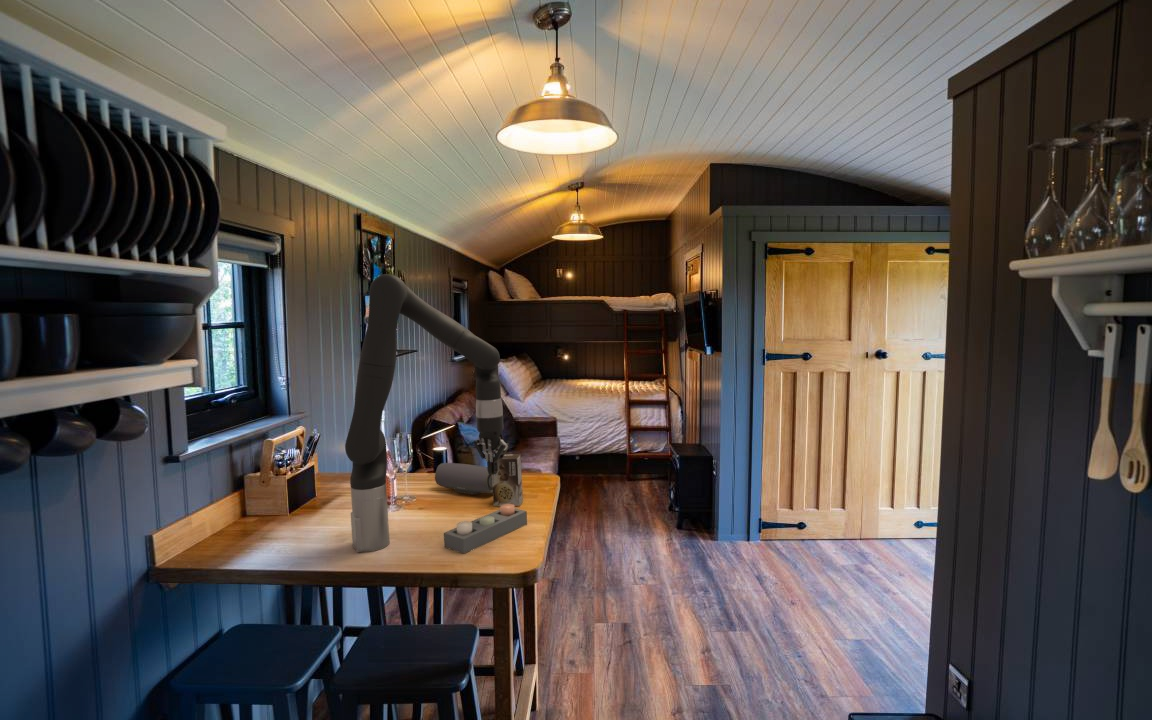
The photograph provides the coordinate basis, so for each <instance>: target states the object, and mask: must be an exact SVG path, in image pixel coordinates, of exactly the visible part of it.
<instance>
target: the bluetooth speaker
mask: <svg viewBox="0 0 1152 720" xmlns="http://www.w3.org/2000/svg"><path fill="white" fill-rule="evenodd" d="M434 481H435V483H436V485H437V486H441V487H444V488H448V489H451V490H452V489H453V490H454V492H456V493H459V492H460V494H466V495H467V494H468V495H475V494H478V495H481V494H483V493H484V494H485V493H486V494H493V486H492V475H491V474H488V470H487V466H482V465H474V464H468V463H467V464H466V463H456V462H441V463H440V464H438V465H437V467H436V471H435V473H434Z"/></svg>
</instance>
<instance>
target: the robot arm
mask: <svg viewBox="0 0 1152 720" xmlns="http://www.w3.org/2000/svg"><path fill="white" fill-rule="evenodd" d="M368 297H369V298H368V299H369V300H368V301H369V302H368V305H369V306H368V318H367V319H368V321H367V327H366V331H365V335H364V338H363V342H362V347H361V353H360V357H359V363H358V368H357V375H356V386H355V392H354V393H355V394H354V406H353V413H352V417H351V421H350V425H349V429H348V432H347V437H346V440H345V442H344V443H345V444H344V450H345V454H346V456H347V458H348V459H349V460H350V461H351V462H352V470H351V474H350V478H349V483H350V492H351V493H350V495H351V499H350V501H351V512H350V525H351V541H352V542H351V543H352V547H353V548H354V550H355V551H356V553H362V552H365V553H367V552H368V553H369V552H374V551H378V550H381V549H384V548H386V547H388V545H389V544H390V528H389V527H390V526H389V511H388V494H387V491H388V490H387V471H388V461H387V457H388V456H387V441H386V440H387V439H386V436H385V434H384V432H383V430H381V422H382V416H383V413H384V408H385V406H386V403H387V400H388V398H389V396H390V391H391V389H392V385H393V381H394V376H395V370H396V363H397V329H398V322H399V318H400V314H401V315H403V316H404V317H407V318H408V319H409V320H411V321H413V322H414V323H416V324H417V325H419V326H420V327H422V329H424V330H425V331H426V332H427V333H428V334H430V336H433V337H434V338H435V339H436V340H437V341H439V342H441V343H442V344H444V345H445V346H446V347H448V348H450V349H451V350H452V351H455V352H456V353H458V354H460V355H461V356H463V357H464V358H465V359H467V360H468V361H469V362H471V363H472V364H473V367H474V376H475V399H476V401H475V402H476V403H475V415H476V430H477V432H478V433H479V434H478V438H477V439H475V440H473V445H474V446H475V449H476V451H477V452H478V453H479V456H480V457H481V459H483V460H485V461H486V467H487V470H488V474H491V475H494V474H497V472H498V460H500V459H503V457H504V455H505V454H507V452H508V450H509V448H510V443H509V442H507V443H506V442H505V440H504V435H503V433H502V432H503V430H504V429H505V428H504V427H505V426H504V414H503V413H504V412H503V411H504V409H503V402H502V391H501V389H502V388H501V382H500V381H501V380H500V378H499V364H500V361H501V357H500V352H499V351H498V349H497V348H496V347H494V346H493V345H491V344H490V343H488V342H487V341H485V340H484V339H482V338H480V337H478V336H476V335H475V334H474V333H473V332H471V331H470V330H469V329H468V328H466V327H465V326H464V325H462V324H461V323H459V322H457V321H456V320H455V319H454V318H452V317H450V316H448V315H446V314H445V313H443V312H442V311H440V310H438V309H436V308H435V307H433V306H431V305H430V304H428V303H427V302H426V301H424V300H423V299H422V298H421V297H419V296H418V295H417V294H416V293H414V291H413V290H412V289H411V288H409V287H408V286H407V285H406V283H405V282H404V281H403V280H402V278H400V277H398V276H396V275H394V274H389V273H384V274H380V275H378V276H377V277H376V278H374V279H373V281H371V284H370V287H369V295H368ZM494 455H495V457H494Z"/></svg>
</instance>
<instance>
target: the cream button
mask: <svg viewBox="0 0 1152 720" xmlns="http://www.w3.org/2000/svg"><path fill="white" fill-rule="evenodd" d="M456 528H457V534H459V535H462V536H466V535H468V534H470V533H472V522H471V521H468V520H467V521H466V520H465V521H459V522H457V523H456Z"/></svg>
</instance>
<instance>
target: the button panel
mask: <svg viewBox="0 0 1152 720" xmlns="http://www.w3.org/2000/svg"><path fill="white" fill-rule="evenodd" d="M486 516H491V517H494V521H495V523H493V524H491V525H488V526H485V525H481V524H480V518H482V517H486ZM470 522H472V533H470V534H468V535H466V536H462V535H459V534H457V527H454V528H452V529H450V530H447V531H446V532H443V545H444V548H445V547H447V548H446V549H448V548H450V549H449V550H451V549H452V551H454V550H455V552H457V551H458V553H460V552H461V553H460V554H463V553H465V554H467V553H469V552H472V551H474V550H475V549H478V548H480V547H482V546H485V545H486V544H489V543H490V542H492V541H495V540H496V539H499V538H501V537H503V536H505V535H507V534H509V533H512V532H513V531H514V532H515V530H518V529H520V528H522V527H524V526H527V525H528V513H527V510H523V509H520V508H516V507H515V514H513V515H511V516H509V517H507V516H503V515H501V510H500V509H497V510H495V511H492V512H490V513H488V514H486V515H483V516H481V517H479V518H475V519H474V520H472V521H470ZM473 549H474V550H473ZM471 550H472V551H471Z"/></svg>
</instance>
